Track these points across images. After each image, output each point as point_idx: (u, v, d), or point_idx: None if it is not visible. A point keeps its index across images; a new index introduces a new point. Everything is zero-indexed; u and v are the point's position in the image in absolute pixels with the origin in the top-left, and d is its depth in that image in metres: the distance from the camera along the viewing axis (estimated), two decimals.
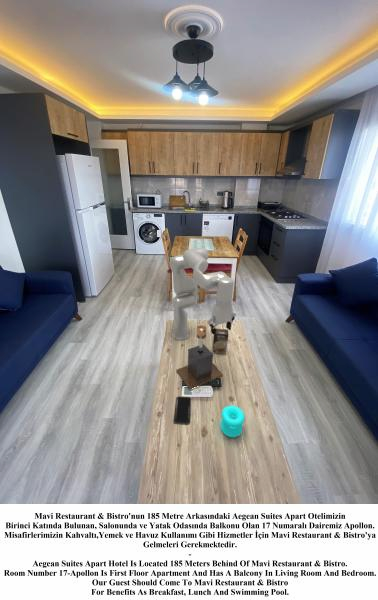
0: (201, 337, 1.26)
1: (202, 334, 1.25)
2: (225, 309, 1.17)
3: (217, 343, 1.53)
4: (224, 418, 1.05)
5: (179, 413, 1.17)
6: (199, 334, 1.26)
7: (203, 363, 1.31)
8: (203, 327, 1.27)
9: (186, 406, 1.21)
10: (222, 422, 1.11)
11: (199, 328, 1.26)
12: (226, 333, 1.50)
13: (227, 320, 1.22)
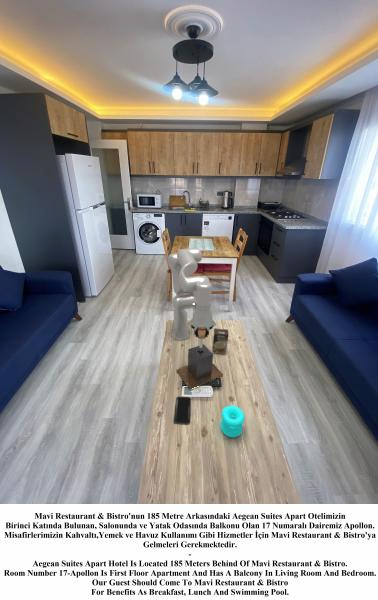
0: (201, 337, 1.26)
1: (202, 334, 1.25)
2: None
3: (217, 343, 1.53)
4: (224, 418, 1.05)
5: (179, 413, 1.17)
6: (199, 334, 1.26)
7: (203, 363, 1.31)
8: (203, 327, 1.27)
9: (186, 406, 1.21)
10: (222, 422, 1.11)
11: (199, 328, 1.26)
12: (226, 333, 1.50)
13: None
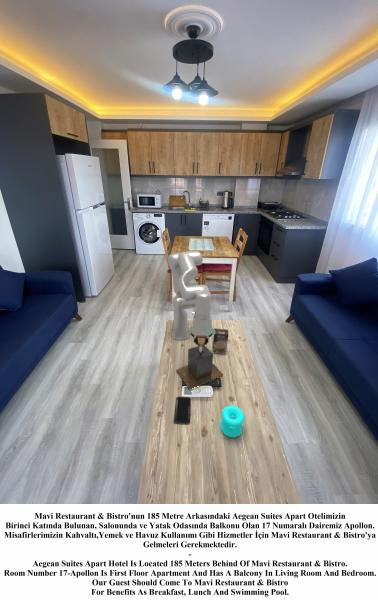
0: (201, 345, 1.28)
1: (202, 342, 1.28)
2: None
3: (217, 343, 1.53)
4: (224, 418, 1.05)
5: (179, 413, 1.17)
6: (199, 342, 1.28)
7: (203, 363, 1.31)
8: (202, 335, 1.29)
9: (186, 406, 1.21)
10: (222, 422, 1.11)
11: (199, 336, 1.29)
12: (226, 333, 1.50)
13: None
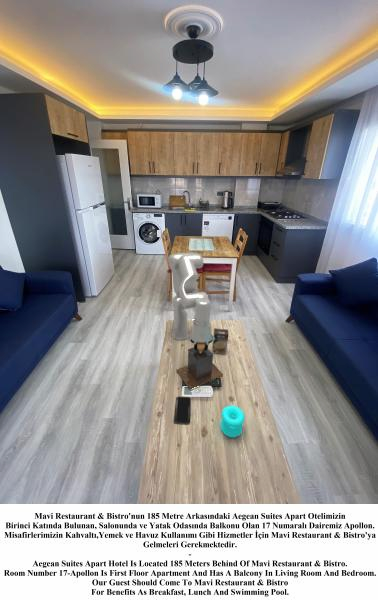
0: (200, 351, 1.30)
1: (201, 348, 1.30)
2: None
3: (217, 343, 1.53)
4: (224, 418, 1.05)
5: (179, 413, 1.17)
6: (198, 348, 1.30)
7: (203, 363, 1.31)
8: None
9: (186, 406, 1.21)
10: (222, 422, 1.11)
11: (198, 342, 1.30)
12: (226, 333, 1.50)
13: None
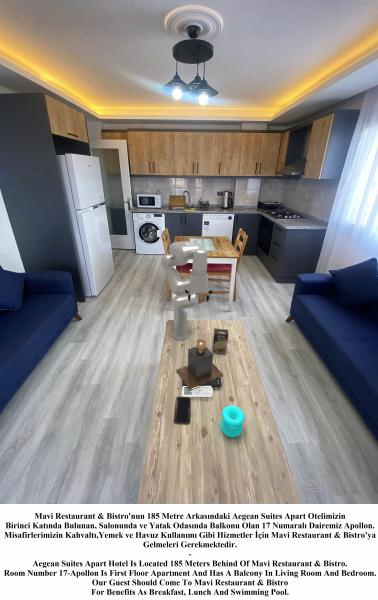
0: (200, 351, 1.30)
1: (201, 348, 1.30)
2: None
3: (217, 343, 1.53)
4: (224, 418, 1.05)
5: (179, 413, 1.17)
6: (198, 348, 1.30)
7: (203, 363, 1.31)
8: (202, 341, 1.31)
9: (186, 406, 1.21)
10: (222, 422, 1.11)
11: (198, 342, 1.30)
12: (226, 333, 1.50)
13: None
